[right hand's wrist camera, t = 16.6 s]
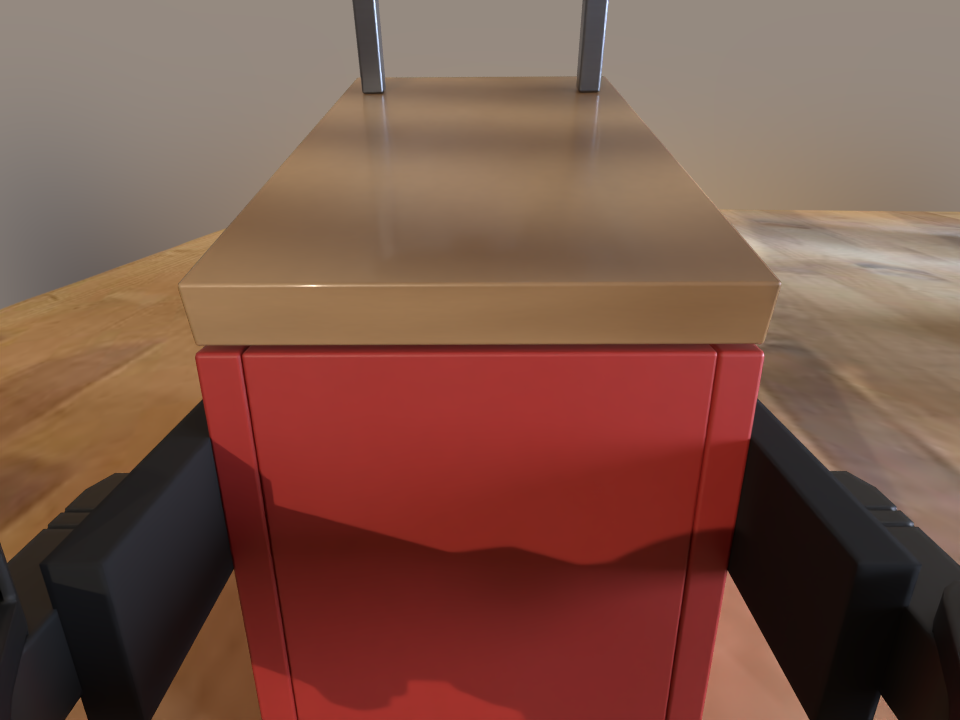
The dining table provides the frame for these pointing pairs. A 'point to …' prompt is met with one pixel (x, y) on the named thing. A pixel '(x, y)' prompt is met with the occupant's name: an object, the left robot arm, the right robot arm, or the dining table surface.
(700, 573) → the chest
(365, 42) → the lid
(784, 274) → the dining table surface
